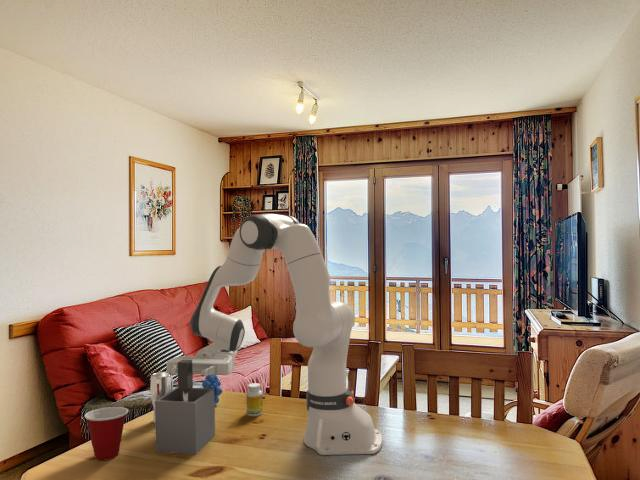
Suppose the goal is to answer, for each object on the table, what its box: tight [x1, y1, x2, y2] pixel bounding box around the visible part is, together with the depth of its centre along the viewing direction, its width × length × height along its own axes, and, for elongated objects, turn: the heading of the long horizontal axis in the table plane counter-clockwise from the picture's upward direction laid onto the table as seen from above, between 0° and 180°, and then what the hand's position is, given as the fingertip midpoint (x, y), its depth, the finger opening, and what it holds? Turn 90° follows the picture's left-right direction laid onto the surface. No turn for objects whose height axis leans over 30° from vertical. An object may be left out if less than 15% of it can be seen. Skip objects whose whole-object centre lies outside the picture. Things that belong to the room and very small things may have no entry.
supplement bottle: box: [245, 382, 264, 417], centre depth 147 cm, size 5×5×10 cm
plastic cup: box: [84, 406, 130, 461], centre depth 120 cm, size 11×11×12 cm
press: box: [154, 386, 216, 455], centre depth 126 cm, size 12×12×14 cm
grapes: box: [201, 375, 223, 407], centre depth 153 cm, size 12×7×12 cm, turn 165°
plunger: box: [177, 360, 194, 402], centre depth 126 cm, size 9×9×22 cm
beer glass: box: [150, 371, 174, 425], centre depth 143 cm, size 7×7×15 cm
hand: (188, 373), depth 128 cm, fingers open, 8 cm apart
